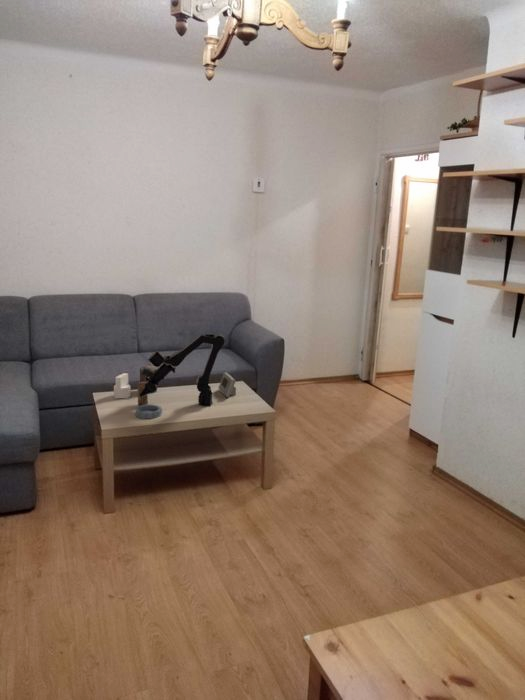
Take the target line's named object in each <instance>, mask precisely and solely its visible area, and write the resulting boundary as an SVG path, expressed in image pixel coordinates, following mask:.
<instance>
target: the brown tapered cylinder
mask: <svg viewBox="0 0 525 700" xmlns="http://www.w3.org/2000/svg"><path fill="white" fill-rule="evenodd" d="M145 383H146V382H140V381H138V382H137V407H138V406H142V405H149V404H148V402H149V401H148V394H146V395H143V396H140V393H141V392H142V391H143V389H144V388H145Z"/></svg>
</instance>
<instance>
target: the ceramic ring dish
mask: <svg viewBox="0 0 525 700" xmlns="http://www.w3.org/2000/svg"><path fill="white" fill-rule="evenodd" d="M134 409H135V410H134V411H135V412H134V414H136V415H135V416H136V418H139V417H140V418H139V419H143V418H145V419H147V420H148V419H149V420H150V419H156V418H159V417H160V416H162V414H163V413H162V412H163V408H162V407H161V406H160V405H158V404H148V405H142V406H138V405H137V407H135V408H134Z"/></svg>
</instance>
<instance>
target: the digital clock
mask: <svg viewBox="0 0 525 700" xmlns="http://www.w3.org/2000/svg"><path fill="white" fill-rule="evenodd" d="M235 385H236V380H235V379H234V377H233V376H232V375H230V373H228V372H227V371H226V372H224V373H223V374H222V377H221V379H220V383H219V386H218V390H219V391H220V392H221V393H222V394H223V395H224V396H225V397H226V398H230V397H231V396H230V395H232V396H236V395H237V388H236V386H235Z"/></svg>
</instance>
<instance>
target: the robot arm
mask: <svg viewBox="0 0 525 700" xmlns="http://www.w3.org/2000/svg"><path fill="white" fill-rule="evenodd" d="M225 341H226V339H225V338H224V335H223V334H221V333H216V334H211V333H209V334H208V333H206V334H205V333H200V334H199V335H198V336H197V337H196V338H195V339H193V340H192V341H191V342H190V343H188V344H187V345H186V346H184V347H183V348H182V349H179V350H178V351H175V352H174V353H171V355H165V356H163V354H161V352H160V351H159V350H156V351H154V352H153V353H152V354H151V355H149V357H148V358H147V361H149V363H151V364H152V366H155V367H156V368H157V369H155V370H154V371H153V370H152V369H149V368H147V367H144V368H143V370H142V373H141V374H143V375H146V383H145V388H144V389H143V391H142V392H141V393H140V396H143V395H146V394H147V395H149V394H154V393H153V392H155V391H156V390H157V391H158V386H159V384H160V383H161V382H162V381H164V379H165V378H166V377H167V376H168V375H169V374H170V373H171V372H172V373H173V374H175V373H176V367H178V366H180V364H181V363H183V361H184V360H185V358H186V357H187V356H188V355H190V354H191V353H192V352H194V351H195V350H196V349H197V348H199V347H200V346H201V345H202V344H209V345H211V346H210V347H211V348H210V351H209V354H208V357H207V360H206V363H205V365H204V369H203V370H202V374H198V375H197V379H196V380H195V386H196V389H197V391H198V392H199V393H198V394H199V395H198V406H202V407H203V406H204V407H210V406H211V405H212V404H214V402H213V392H212V387H211V386H210V385H209V382H210V377H211V374H212V370H213V367H214V365H215V362H216V360H217V356H218V354H219V352H220V351H221V350H222V348H223V346H224V345H225ZM155 393H156V392H155Z"/></svg>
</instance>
